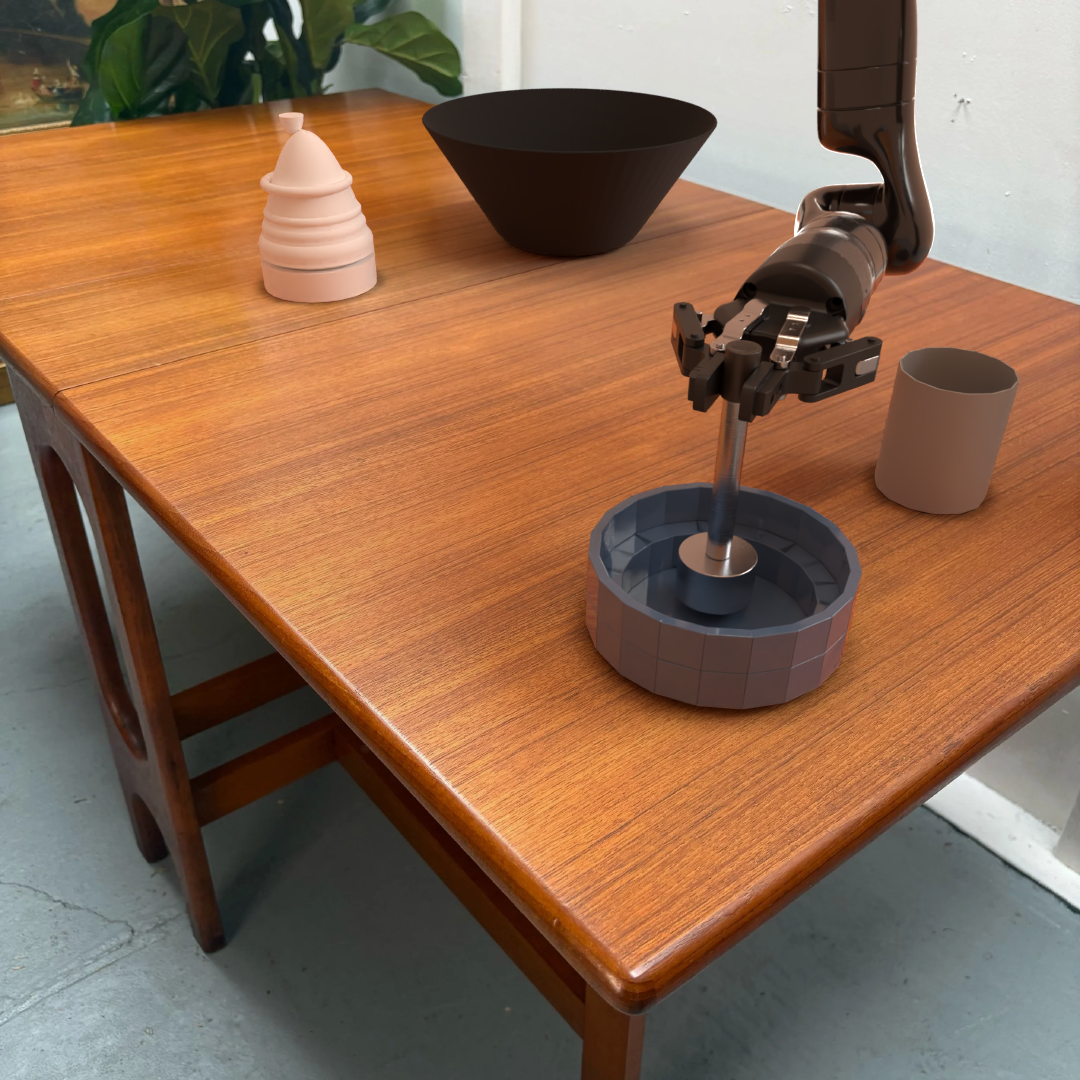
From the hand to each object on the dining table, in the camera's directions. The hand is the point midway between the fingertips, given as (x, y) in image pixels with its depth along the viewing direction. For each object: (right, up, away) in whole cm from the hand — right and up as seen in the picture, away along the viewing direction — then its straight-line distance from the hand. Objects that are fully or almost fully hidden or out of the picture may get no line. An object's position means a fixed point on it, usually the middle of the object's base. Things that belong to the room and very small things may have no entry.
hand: (723, 400), depth 55 cm
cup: (+21, -4, +25) cm, 33 cm away
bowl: (-7, +31, +76) cm, 82 cm away
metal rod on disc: (+1, -11, +11) cm, 15 cm away
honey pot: (-35, +22, +63) cm, 75 cm away
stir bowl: (+1, -13, +10) cm, 17 cm away
